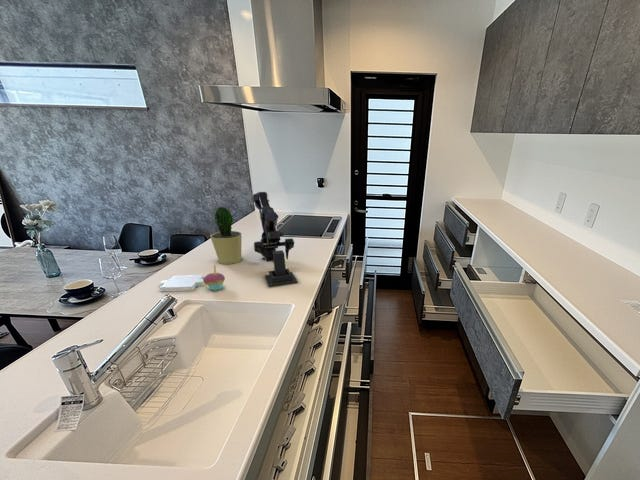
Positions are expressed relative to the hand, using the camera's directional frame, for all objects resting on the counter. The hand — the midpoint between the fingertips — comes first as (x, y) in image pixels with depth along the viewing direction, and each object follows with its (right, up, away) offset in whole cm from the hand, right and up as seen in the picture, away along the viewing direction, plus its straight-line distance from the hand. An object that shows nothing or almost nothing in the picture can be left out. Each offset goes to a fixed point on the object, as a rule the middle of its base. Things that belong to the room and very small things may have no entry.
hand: (277, 260), depth 146 cm
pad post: (+2, -8, -1) cm, 9 cm away
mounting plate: (-40, -12, -8) cm, 43 cm away
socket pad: (+2, -9, -1) cm, 10 cm away
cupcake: (-24, -13, -11) cm, 30 cm away
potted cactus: (-33, +1, +22) cm, 40 cm away
